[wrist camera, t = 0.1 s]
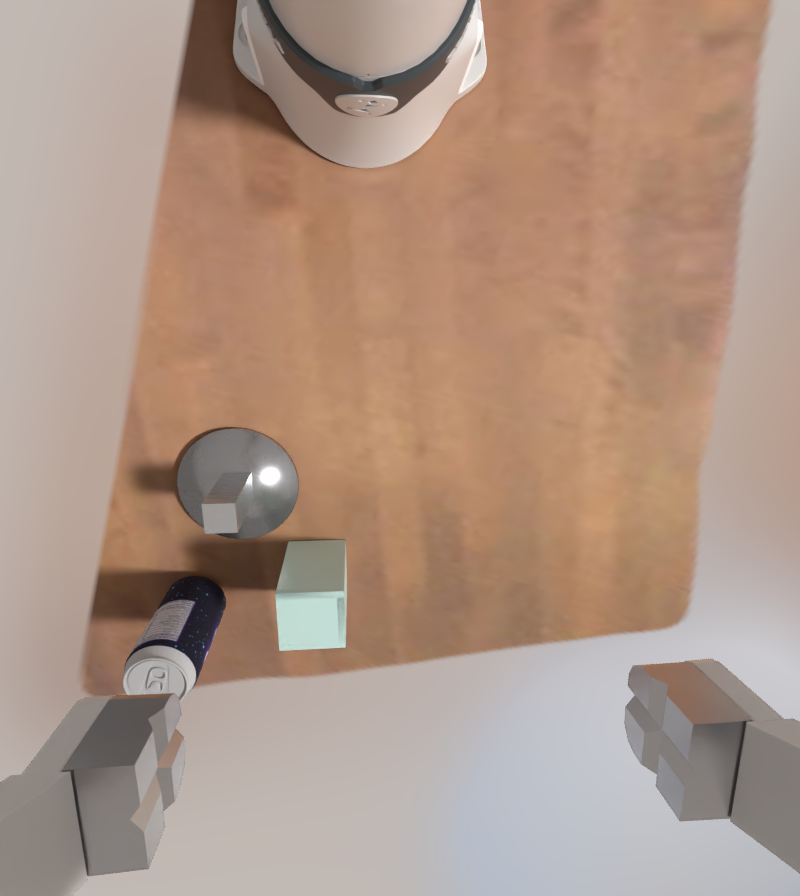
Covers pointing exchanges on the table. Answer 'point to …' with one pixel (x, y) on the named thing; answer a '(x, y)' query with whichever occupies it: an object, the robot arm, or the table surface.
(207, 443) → the post
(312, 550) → the mint green lidded box
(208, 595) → the beverage can
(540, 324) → the table surface
